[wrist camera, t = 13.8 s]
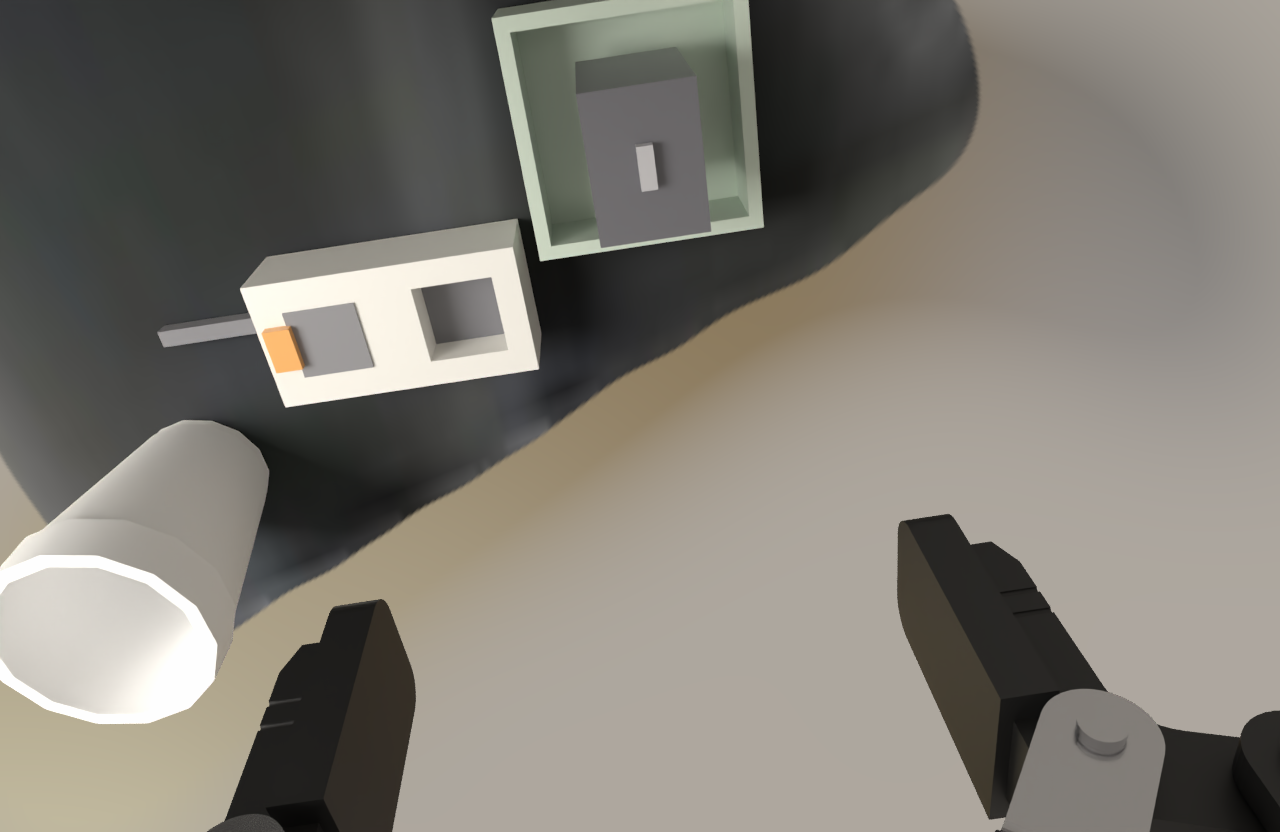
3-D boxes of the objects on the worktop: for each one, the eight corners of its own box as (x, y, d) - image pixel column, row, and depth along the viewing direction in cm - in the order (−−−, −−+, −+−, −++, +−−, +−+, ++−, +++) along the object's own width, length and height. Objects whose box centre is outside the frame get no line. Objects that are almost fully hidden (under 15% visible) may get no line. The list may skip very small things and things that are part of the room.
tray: (497, 8, 38) (491, 18, 35) (733, -28, 38) (746, -22, 35) (542, 235, 43) (540, 261, 40) (750, 203, 43) (764, 227, 40)
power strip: (141, 275, 43) (98, 313, 39) (517, 218, 42) (511, 251, 39) (190, 386, 46) (154, 431, 42) (541, 333, 45) (538, 373, 42)
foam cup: (240, 567, 52) (148, 754, 40) (83, 481, 48) (-67, 660, 37) (332, 459, 48) (259, 629, 37) (170, 359, 45) (36, 513, 34)
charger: (575, 55, 39) (576, 96, 31) (671, 40, 39) (697, 77, 31) (595, 183, 42) (601, 251, 34) (685, 170, 41) (712, 234, 34)
